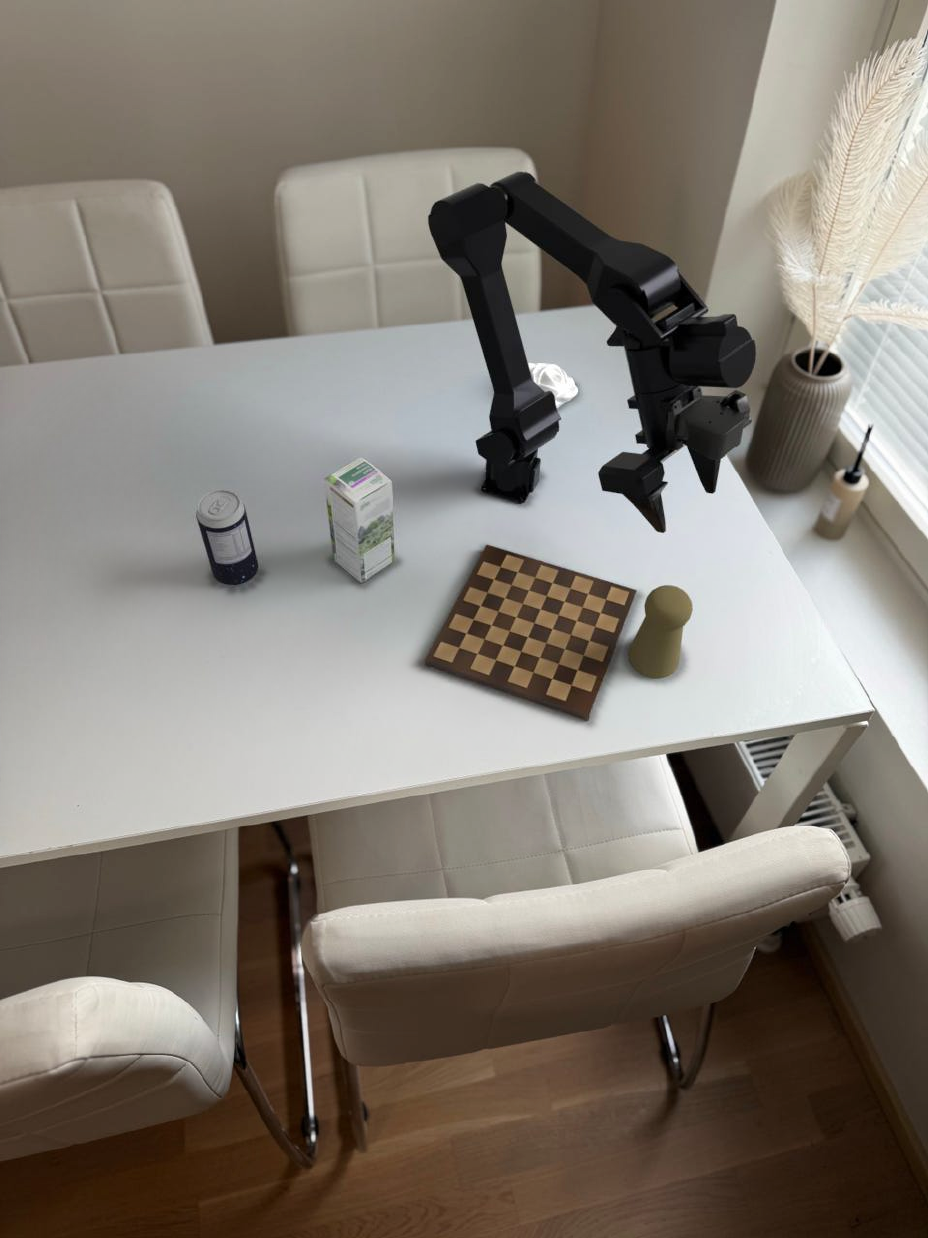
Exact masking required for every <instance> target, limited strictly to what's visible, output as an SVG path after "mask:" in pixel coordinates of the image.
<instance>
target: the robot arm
mask: <svg viewBox="0 0 928 1238" xmlns="http://www.w3.org/2000/svg"><path fill="white" fill-rule="evenodd" d="M427 224H428V229H429V233H430V235H431V237H432V239H433V242H434V244H435V247H436V249H437V252H438V254H439V257H440V258H441V260H442V261H443V262H444V263H445V264H446V265H447V266H448V268H450V269H451V270H452V271H454V273H455V274H457V275H458V277H459V278H460V280H461V283H462V287H463V290H464V293H465V297H466V300H467V302H468V307H469V310H470V313H471V318H472V321H473V324H474V328H475V331H476V335H477V338H478V342H479V344H480V348H481V352H482V355H483V359H484V362H485V365H486V368H487V372H488V375H489V378H490V382H491V385H492V389H493V395H492V401H491V405H490V410H489V415H488V419H489V425H490V431H488V432H487V433H486V434H484V435H482V436H480V437H479V438H477V439H476V440H475V446H476V449H477V454H478V456H480V457H481V458H483V459H484V460H485V476H484V477H485V478H484V480H483V482H482V484H481V485H480V491H481V492H483V493H485V494H488V495H491V496H496V497H499V498H502V499H506V500H509V501H512V502H516V503H520V504H525V503H526V502H527V500H528V498H529V496H530V494H531V493H534V491H535V489H536V487H537V486H538V483H539V481H540V472H541V462H542V459H541V458H540V457H538V454H539V449H540V448H542V447H543V446H545V445H547V444H548V443H549V442H550V441H552V440H553V439H555V438H556V436H557V434H558V433H559V431H560V421H561V420H562V417H561V415H560V413H559V411H558V408H556V403H555V396H554V394H553V393H552V392H551V391H546V392H545V391H544V390H543V389H541V388H540V387H539V386H538V385H537V384H536V383H535V382H534V381H533V379H532V376H531V373H530V369H529V365H528V363H529V362H528V358H527V355H526V351H525V348H524V343H523V339H522V336H521V332H520V329H519V324H518V322H517V317H516V313H515V310H514V306H513V302H512V299H511V295H510V292H509V288H508V284H507V280H506V277H505V273H504V269H503V259H504V253H505V249H506V244H507V239H508V232H507V226H509V227H511V229H514V230H515V231H516V232H517V233H518V234H520V235H521V236H523V237H524V238H525V239H526V240H528V241H529V242H531V243H532V244H534V245H535V246H536V247H538V248H539V249H540V250H541V251H542V252H544V253H545V254H547V255H548V256H550V257H551V258H552V259H554V260H555V261H556V262H557V263H559V264H560V265H561V266H563V267H564V268H566V269H567V270H568V271H570V272H571V273H572V274H574V275H575V276H576V277H578V278H579V279H580V280H581V281H582V282H583V283H584V284H585V285H586V289H587V290H588V294H589V296H590V300H591V303H593V305H594V306H596V308H597V309H598V310H599V311H600V312H601V313H602V314H603V315H604V316H605V317H606V318H607V319H608V320H609V321H610V322H611V323H612V324H613V325H615V328H614V330H613V332H612V333H611V335H609V337H608V339H607V340H606V345H607V346H608V347H621V348H622V347H623V349H624V354H625V358H626V363H627V367H628V368H627V369H628V371H629V376H630V381H631V386H632V390H633V395H632V396H631V397H629V398H628V399H627V402H626V403H627V406H628V409H629V410H637V412H638V417H639V422H640V426H641V430H640V431H638V432H637V433H636V434H635V435H634V438H635V442H636V444H640V445H646V448H648V449H646V450H645V451H643V452H641V453H638V452H628V451H621V452H620V453H619V454H617V455H615V456H614V457H613V458H612V459H610V460H609V461H607V462H606V463H604V464H603V465H601V468H600V469H599V471H598V472H597V475H598V479H599V483H600V487H601V491H602V492H605V493H612V494H619V495H623V496H624V498H626V499H627V500H628V502H629V503H631V504H632V505H633V506H634V508H636V509H637V510H638V512H639V513H640V514H641V515H642V517H643V518H644V519H645V520H646V521H647V522H648V523H649V524H650V525H651V527H652V528H653V529H654V531H656V532H657V533H662V534H664V533H666V531H667V525H666V516H665V510H664V508H665V507H664V503H663V497H662V493H663V491H664V490H665V488H666V487H667V485H668V484H669V482H668V481H666V480H665V481H664V477H665V468H664V462H666V461H667V460H668V459H669V458H670V457H672V456H673V455H675V454H676V453H677V452H679V451H680V450H682V449H683V448H684V447H686V448H687V451H688V453H689V456H690V458H691V461H692V463H693V466H694V469H695V471H696V473H697V476H698V479H699V481H700V484H701V485H702V487H703V489H704V491H705V493H706V494H711V495H712V494H715V493H716V492H717V491H716V490H717V485H718V479H719V472H720V467H721V461H722V459H723V458H725V457H726V456H727V454H728V453H730V452H731V451H732V450H733V449H734V448H735V449H736V448H738V447H739V446H740V445H741V443H742V437H743V433H744V429H746V427H748V426H750V424H752V422H753V419H752V417H751V416H750V413H751V407H750V403H749V399H748V395H747V393H744V392H742V391H740V390H737V389H739V388H741V387H743V386H744V385H745V384H746V382H747V381H749V380H750V377H751V376H752V374H753V371H754V368H755V364H756V356H757V347H756V341H755V340H754V339H753V338H752V336H751V333H750V332H749V331H748V329H746V328H745V327H744V326H741V325H738V318H737V315H736V314H734V313H725V314H721V315H718V316H704V315H707V313H708V312H709V307H708V305H707V304H706V303H705V302H704V301H703V300H702V298H701V297H700V295H699V294H698V293H697V292H696V291H695V289H694V288H693V287H692V286H691V284H689V282H688V281H687V280H686V279H685V277H684V276H683V275H682V274H681V273H680V269H679V267H678V265H677V264H676V262H675V261H674V260H672V258H671V257H670V256H668V255H666V254H665V253H662V252H660V251H659V250H656V249H655V248H651V247H650V246H648V245H646V244H644V243H639V242H633V241H627V240H620V239H617V238H615V237H613V236H611V235H610V234H608V233H607V232H605V231H604V230H602V229H601V228H599V227H598V226H597V225H595V224H594V223H593V222H592V221H590V220H588V219H587V218H586V217H584V216H583V215H582V214H580V213H579V212H577V211H576V210H574V209H573V208H572V207H570V206H569V205H568V204H567V203H565V202H563V201H562V200H561V199H559V198H558V197H556V196H555V195H553V194H552V193H550V191H548V190H546V189H545V188H543V187H542V186H541V185H540V184H539V183H538V181H537V179H536V178H535V177H534V175H532V173H529V172H527V171H516V172H514V173H511V174H509V175H507V176H505V177H503V178H500V179H499V180H496V181H493V183H491V184H489V185H486V184H485V183H481V182H476V183H475V184H472V185H469V186H467V187H466V188H463V189H461V190H459V191H457V192H454V193H452V194H450V195H448V196H446V197H444V198H441V199H439V200H437V201H435V202H433V204H432V206H431V209H430V213H429V214H428V215H427ZM506 224H507V226H506ZM673 306H674V307H675V308H676V309H674V310H672V311H670V312H669V313H668V314H666V315H664V316H663V317H661V318H660V319H658V320H656V321H655V322H654V321H653V319H654V318H656V317H658V316H659V315H661V314H662V313H664V312H665V311H667V310H669V309H670V308H672V307H673ZM701 387H705V388H724V389H726V388H727V389H735V390H733V391H732V392H730V393H729V394H727V395H726V396H725V395H706V394H703V391H702V388H701Z"/></svg>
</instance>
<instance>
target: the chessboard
mask: <svg viewBox="0 0 928 1238" xmlns="http://www.w3.org/2000/svg"><path fill="white" fill-rule="evenodd" d="M637 592H638V591H637V589H635V588H631V587H628V586H624V585H620V584H618V583H614V582H611V581H608V580H605V579H601V578H598V577H595V576H591V575H589V574H585V573H581V572H578V571H575V570H572V569H568V568H567V567H566V568H565V567H563V566H559V565H556V564H552V563H549V562H546V561H542V560H540V559H536V558H532V557H530V556H527V555H522V554H519V553H517V552H513V551H509V550H507V549H503V548H500V547H497V546H492V545H490V544H485V546H484V548H483V549H482V552H481V554H480V555H479V557H478V559H477V561H476V563H475V565H474V566H473V569H472V571H471V573H470V574H469V576H468V578H467V579H466V582H465V583H464V585H463V587H462V589H461V591H460V593H459V594H458V597H457V598H456V600H455V602H454V604H453V606H452V608H451V609H450V612H449V613H448V615H447V617H446V619H445V620H444V623H443V624H442V627H441V628H440V630H439V632H438V634H437V636H436V637H435V639H434V641H433V643H432V645H431V647H430V648H429V651H428V652H427V654H426V656H425V658H424V667H425V666H426V667H428V668H432V669H434V670H438V671H441V672H443V673H446V674H449V675H451V676H455V677H458V678H461V679H464V680H466V681H470V682H473V683H476V684H479V685H481V686H484V687H487V688H489V689H493V690H496V691H499V692H502V693H504V694H508V695H511V696H514V697H515V698H519V699H522V700H526V701H528V702H532V703H534V704H537V705H539V706H542V707H545V708H548V709H551V710H555V711H557V712H560V713H562V714H563V713H564V714H566V715H569V716H572V717H575V718H578V719H580V720H583V721H587V722H588V721H590V719H591V715H592V713H593V710H594V707H595V705H596V703H597V699H598V697H599V694H600V692H601V689H602V687H603V683H604V681H605V678H606V676H607V673H608V670H609V668H610V665H611V662H612V659H613V657H614V654H615V652H616V649H617V646H618V644H619V641H620V639H621V635H622V633H623V630H624V628H625V625H626V623H627V620H628V617H629V614H630V611H631V610H632V606H633V604H634V601H635V599H636V596H637Z"/></svg>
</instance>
